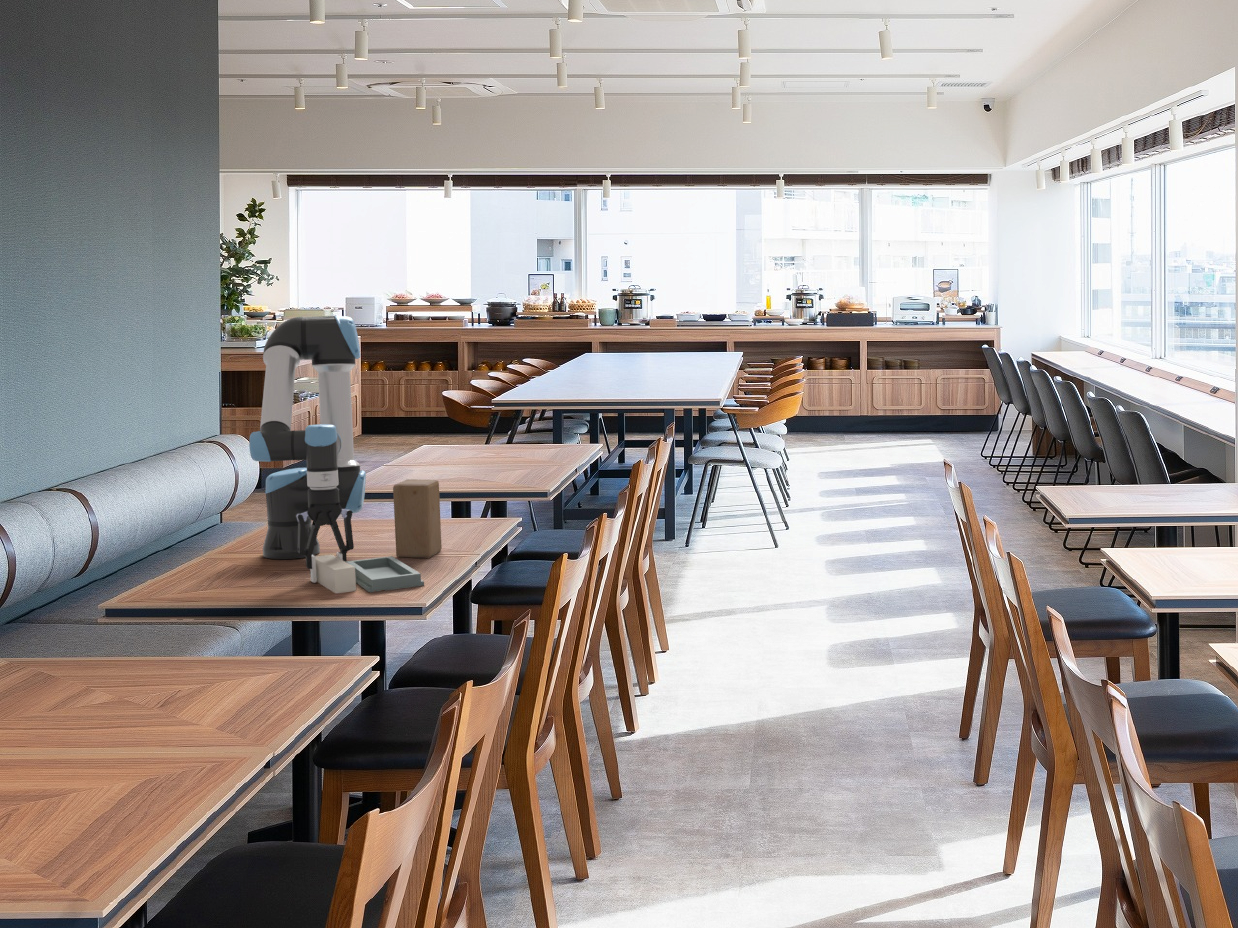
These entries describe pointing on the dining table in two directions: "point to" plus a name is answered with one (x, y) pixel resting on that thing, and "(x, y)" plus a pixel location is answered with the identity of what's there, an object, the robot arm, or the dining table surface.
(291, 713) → the dining table surface
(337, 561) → the cream rectangular bar
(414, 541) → the wooden block
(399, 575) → the tray
